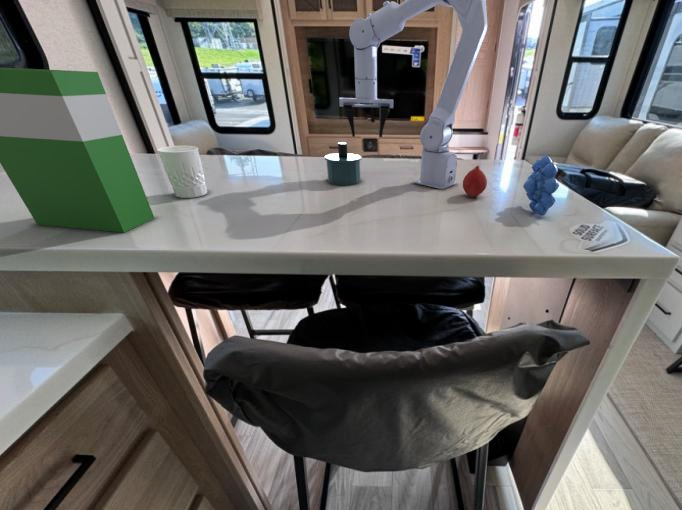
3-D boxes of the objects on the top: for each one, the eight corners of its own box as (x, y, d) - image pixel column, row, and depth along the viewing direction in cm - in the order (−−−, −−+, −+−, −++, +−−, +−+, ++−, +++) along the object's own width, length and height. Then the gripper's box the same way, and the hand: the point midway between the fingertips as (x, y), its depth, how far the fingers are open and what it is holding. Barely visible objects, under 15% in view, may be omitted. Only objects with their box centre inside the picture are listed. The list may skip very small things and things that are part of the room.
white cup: (164, 196, 78) (148, 149, 72) (193, 187, 84) (180, 144, 78) (189, 201, 75) (174, 153, 70) (217, 192, 82) (205, 147, 76)
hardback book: (37, 224, 62) (-58, 66, 48) (74, 211, 68) (-1, 67, 54) (124, 232, 60) (51, 71, 47) (154, 218, 66) (97, 71, 53)
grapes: (508, 203, 82) (519, 151, 75) (534, 204, 82) (548, 151, 76) (526, 221, 72) (541, 162, 65) (556, 221, 73) (574, 163, 66)
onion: (456, 196, 86) (460, 163, 81) (474, 194, 88) (479, 161, 83) (469, 203, 81) (474, 168, 77) (488, 200, 83) (494, 167, 79)
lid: (363, 158, 95) (362, 140, 92) (359, 166, 87) (358, 147, 84) (328, 156, 95) (327, 139, 92) (321, 164, 87) (319, 145, 84)
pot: (362, 177, 98) (361, 156, 94) (357, 186, 90) (357, 162, 87) (331, 176, 98) (330, 154, 94) (325, 184, 90) (323, 161, 87)
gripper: (337, 78, 84) (341, 138, 91) (395, 80, 86) (393, 139, 93) (338, 78, 89) (341, 134, 97) (392, 80, 91) (391, 135, 99)
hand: (367, 136), depth 95 cm, fingers open, 7 cm apart
